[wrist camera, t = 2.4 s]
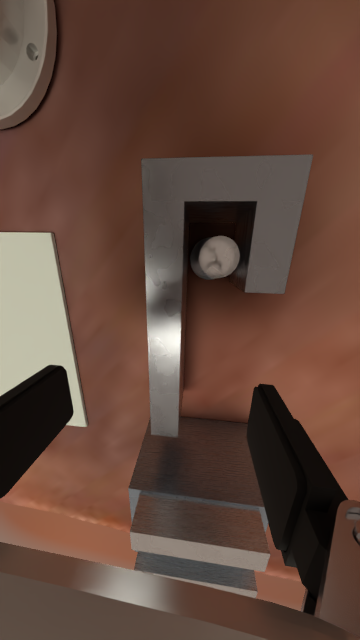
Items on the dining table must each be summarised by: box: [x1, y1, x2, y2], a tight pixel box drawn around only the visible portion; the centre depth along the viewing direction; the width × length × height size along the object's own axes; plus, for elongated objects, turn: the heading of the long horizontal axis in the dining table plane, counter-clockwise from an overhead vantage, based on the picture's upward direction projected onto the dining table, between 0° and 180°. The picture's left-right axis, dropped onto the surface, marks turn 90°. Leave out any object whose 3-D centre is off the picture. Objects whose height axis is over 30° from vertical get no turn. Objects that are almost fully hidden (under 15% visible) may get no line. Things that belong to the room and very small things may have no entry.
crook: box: [141, 155, 313, 438], centre depth 15 cm, size 20×9×6 cm, turn 179°
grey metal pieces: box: [128, 236, 270, 598], centre depth 16 cm, size 32×12×10 cm, turn 179°
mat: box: [0, 232, 88, 427], centre depth 21 cm, size 24×14×1 cm, turn 179°
